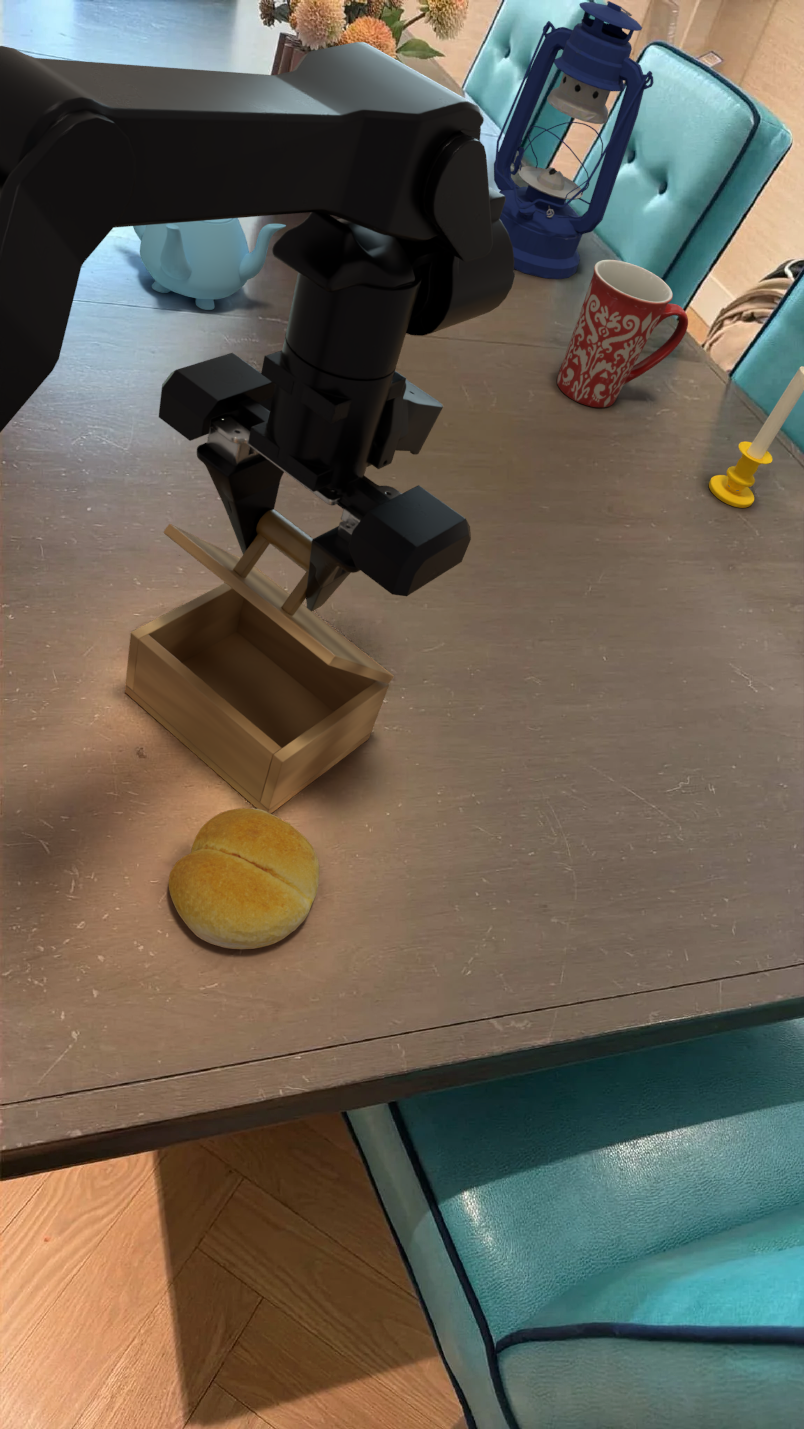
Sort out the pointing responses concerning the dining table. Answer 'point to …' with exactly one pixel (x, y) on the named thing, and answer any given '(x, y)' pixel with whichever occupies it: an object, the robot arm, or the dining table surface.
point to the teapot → (202, 257)
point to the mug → (616, 332)
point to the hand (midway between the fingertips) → (283, 583)
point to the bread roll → (245, 880)
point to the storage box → (248, 696)
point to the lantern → (589, 75)
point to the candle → (756, 451)
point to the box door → (281, 591)
